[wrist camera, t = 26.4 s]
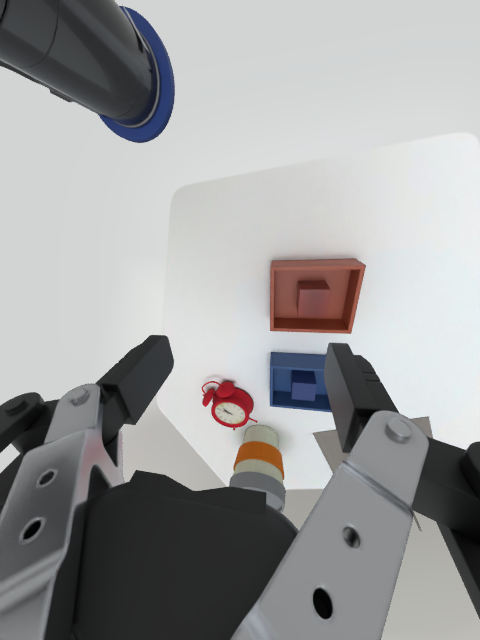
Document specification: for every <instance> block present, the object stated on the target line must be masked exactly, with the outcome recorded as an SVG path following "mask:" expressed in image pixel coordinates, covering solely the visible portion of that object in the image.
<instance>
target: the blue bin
mask: <svg viewBox="0 0 480 640" xmlns="http://www.w3.org/2000/svg"><path fill="white" fill-rule="evenodd" d="M325 361H326V355H317V354H297V353H278V352H271V359H270V406H273V407H283V408H293V409H303V410H313V411H324V412H332V410H331V406H330V402H329V398H328V394H327V390H326V386H325V381H324V367H325ZM291 370H305V371H314V373H315V378H316V383H317V387H316V394H315V401H308V400H297V399H291Z"/></svg>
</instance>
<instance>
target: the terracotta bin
mask: <svg viewBox="0 0 480 640" xmlns="http://www.w3.org/2000/svg"><path fill="white" fill-rule="evenodd" d="M365 266H366V265H364V264H363V263H361V262H360V261H358V260H357V259H323V260H284V261H272V262H271V281H270V331H287V332H317V333H348V334H351V332H352V327H353V322H354V318H355V313H356V308H357V304H358V299H359V294H360V289H361V285H362V280H363V275H364V271H365ZM298 281H326V282H327V284H328V286H329V287H330V289H331V293H330V300H329V307H328V314H327V316H298V313H297V307H296V300H297V285H298Z"/></svg>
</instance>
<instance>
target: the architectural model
mask: <svg viewBox="0 0 480 640" xmlns="http://www.w3.org/2000/svg"><path fill="white" fill-rule="evenodd" d="M410 420H412V421H413V422H415V423H416V424H417V425H418V426H419V427H420V428H421V429H422V430H423V431H424V433H425V435H426V436H428V437H430V438H432V439H433V436H432V431H431V426H430V421H429V417H423V418H416V419H410ZM313 435H314V437H315V439H316V441H317V443H318V444H319V446H320V448H321V450H322V452H323V454H324V456H325V458H326V460H327V462H328V464H329V466H330V468H331V470H332V472H333V474H334V472H335V471H336V469H337V467H338V466H339V464H340V463H341V462H342V461H343V460H344V461H345V460H346V459H347V457H348V456H349V453H342V449H341V445H340V441H339V437H338V433H337V430H332V431H325V432H318V433H313ZM411 511H413V510H412V509H411ZM413 516H414V519H415V521H416V523H417V525H418V528H419V530H420V531H421V528H420V526H419V523H418V521H417V519H416V516H415V514H414V512H413Z"/></svg>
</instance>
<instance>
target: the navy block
mask: <svg viewBox="0 0 480 640" xmlns="http://www.w3.org/2000/svg"><path fill="white" fill-rule="evenodd" d="M316 387H317V383H316V378H315V373H314V371H305V370H291V399H297V400H308V401H315V394H316Z"/></svg>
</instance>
